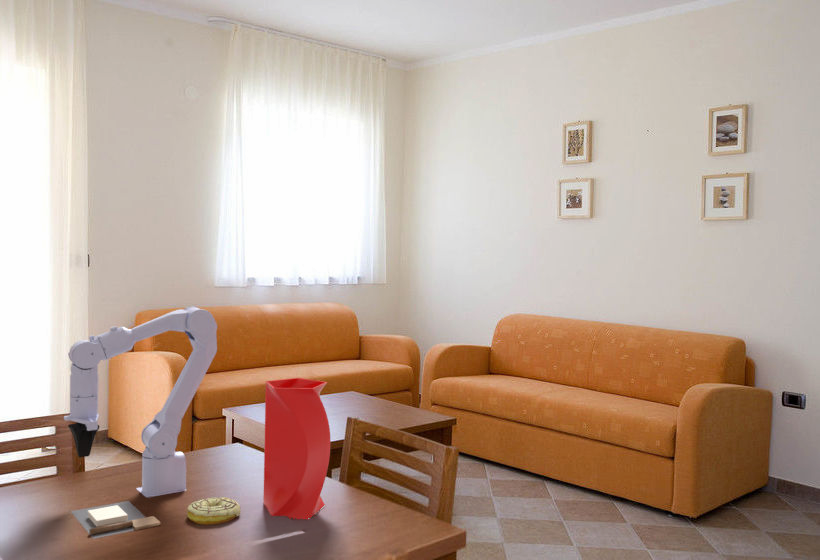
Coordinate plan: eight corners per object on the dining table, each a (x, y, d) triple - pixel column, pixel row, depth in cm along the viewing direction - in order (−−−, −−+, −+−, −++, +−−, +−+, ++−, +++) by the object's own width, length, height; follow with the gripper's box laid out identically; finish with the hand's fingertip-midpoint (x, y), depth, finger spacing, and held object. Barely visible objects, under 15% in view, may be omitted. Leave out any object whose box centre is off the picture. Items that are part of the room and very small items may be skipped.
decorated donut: (249, 520, 157) (250, 502, 157) (205, 533, 149) (205, 514, 149) (222, 507, 164) (222, 490, 164) (178, 519, 156) (178, 501, 156)
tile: (117, 505, 157) (127, 514, 151) (117, 512, 157) (127, 522, 151) (87, 510, 153) (96, 520, 148) (87, 517, 153) (96, 528, 148)
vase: (337, 510, 163) (340, 385, 162) (285, 527, 152) (288, 393, 151) (295, 494, 173) (297, 375, 172) (242, 508, 163) (245, 382, 162)
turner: (153, 518, 154) (153, 512, 154) (160, 524, 150) (160, 518, 150) (87, 532, 146) (87, 525, 146) (93, 539, 142) (93, 532, 142)
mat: (128, 503, 164) (128, 500, 164) (155, 528, 150) (155, 526, 150) (70, 514, 157) (70, 511, 157) (93, 541, 142) (93, 538, 142)
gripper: (57, 391, 166) (56, 451, 167) (72, 402, 155) (72, 467, 155) (90, 388, 171) (89, 446, 171) (108, 399, 159) (107, 461, 160)
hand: (83, 456), depth 163 cm, fingers closed
